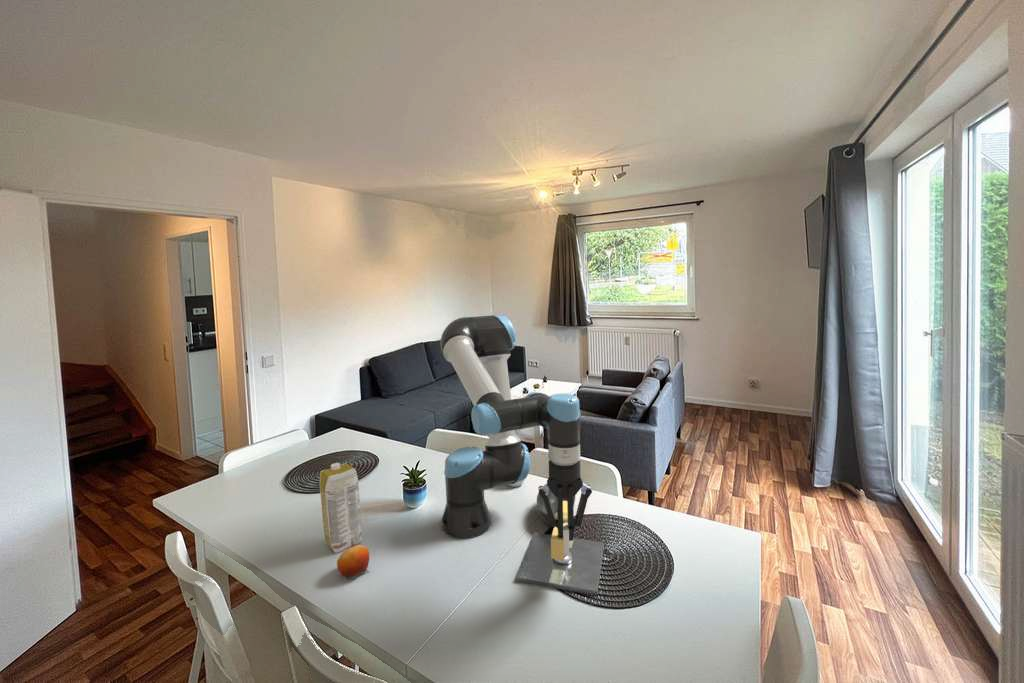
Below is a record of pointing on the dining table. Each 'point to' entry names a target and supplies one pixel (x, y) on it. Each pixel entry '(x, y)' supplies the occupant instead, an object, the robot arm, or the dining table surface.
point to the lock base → (563, 565)
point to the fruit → (353, 561)
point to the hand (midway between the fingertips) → (565, 551)
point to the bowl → (553, 504)
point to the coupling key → (556, 542)
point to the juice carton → (340, 506)
